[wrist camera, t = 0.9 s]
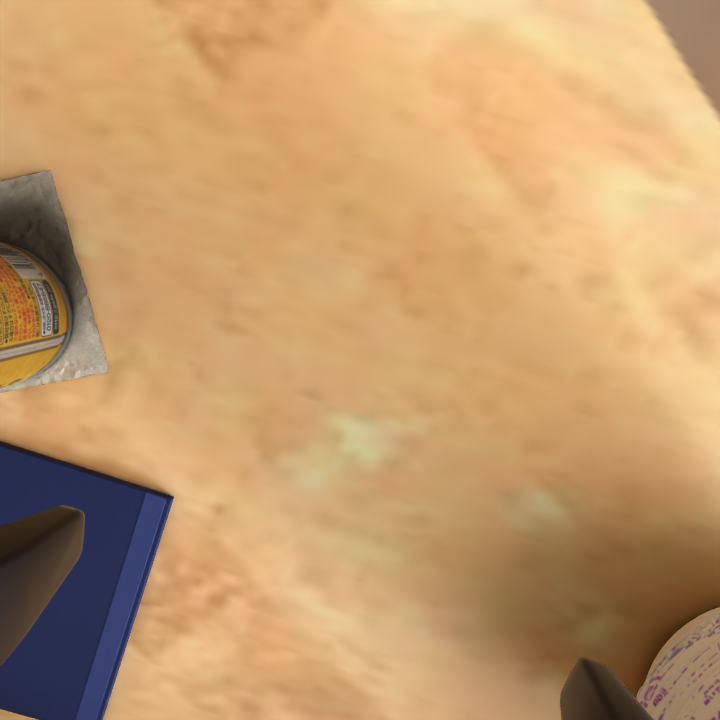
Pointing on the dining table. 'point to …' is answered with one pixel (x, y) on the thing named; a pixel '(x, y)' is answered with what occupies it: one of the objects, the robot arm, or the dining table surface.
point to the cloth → (79, 585)
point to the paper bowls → (686, 673)
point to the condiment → (41, 291)
